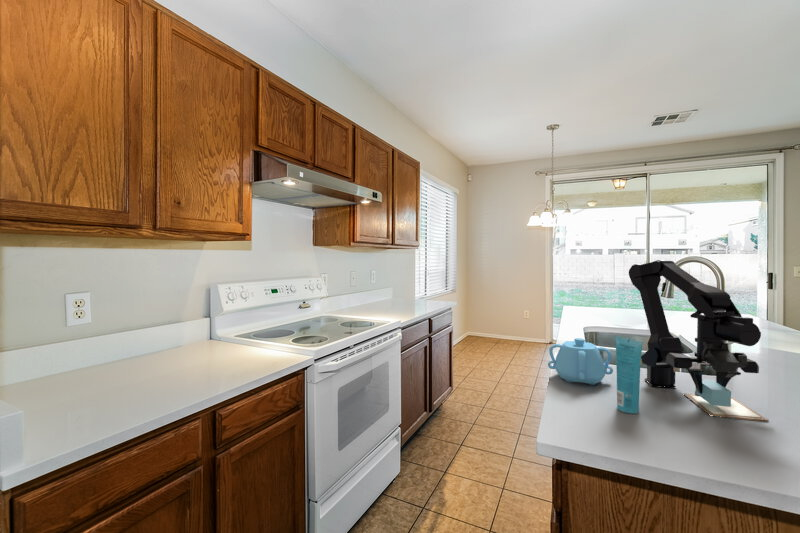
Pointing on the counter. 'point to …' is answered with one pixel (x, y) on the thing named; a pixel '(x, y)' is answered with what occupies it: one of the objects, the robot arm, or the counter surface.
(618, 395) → the tube
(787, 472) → the counter surface
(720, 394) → the light blue block
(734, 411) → the clipboard
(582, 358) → the decorative pot
